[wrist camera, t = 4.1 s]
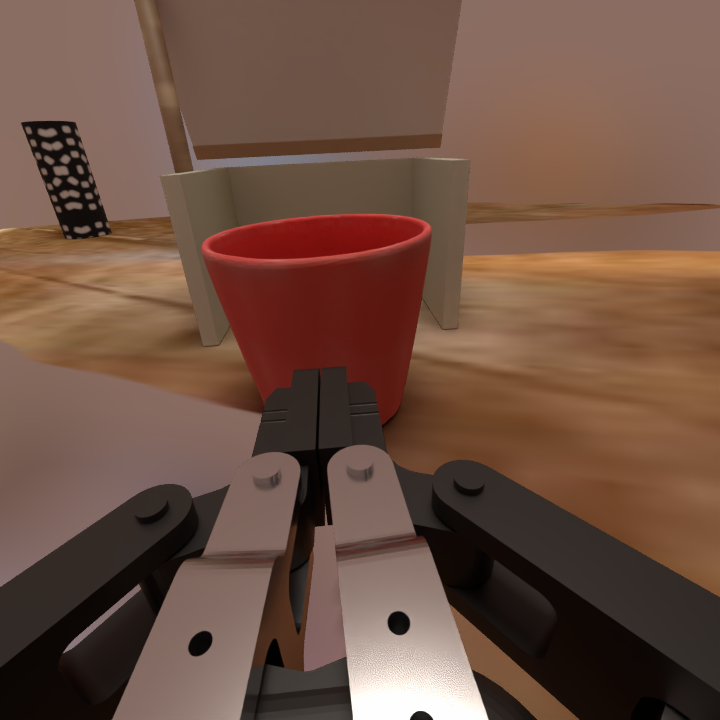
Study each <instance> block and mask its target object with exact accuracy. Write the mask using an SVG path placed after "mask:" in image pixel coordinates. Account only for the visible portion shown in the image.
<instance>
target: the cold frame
mask: <svg viewBox="0 0 720 720" xmlns="http://www.w3.org/2000/svg"><path fill="white" fill-rule="evenodd" d="M469 173H470V160H469V159H447V158H425V157H422V158H421V157H420V158H401V159H381V160H362V161H343V162H324V163H304V164H284V165H266V166H246V167H226V168H214V169H206V170H199V171H191V172H184V173H176V174H169V175H162V176H160V179H161V183H162V187H163V190H164V194H165V198H166V202H167V206H168V210H169V214H170V218H171V222H172V226H173V230H174V234H175V237H176V241H177V245H178V249H179V253H180V257H181V261H182V265H183V269H184V273H185V277H186V281H187V284H188V288H189V292H190V296H191V300H192V304H193V308H194V312H195V316H196V320H197V324H198V327H199V331H200V335H201V339H202V343H203V346H213V345H219V344H220V342H221V341H222V339H223V337H224V335H225V334H226V332H227V330H228V328H229V326H230V324H229V321H228V319H227V317H226V314H225V312H224V310H223V307H222V305H221V303H220V300H219V298H218V296H217V293H216V291H215V288H214V286H213V283H212V281H211V278H210V276H209V273H208V270H207V268H206V265H205V262H204V259H203V256H202V252H201V247H202V244H203V242H204V241H205V240H206V239H208V238H209V237H211V236H213V235H215V234H218V233H220V232H223V231H226V230H229V229H233V228H237V227H241V226H245V225H250V224H256V223H261V222H268V221H274V220H281V219H289V218H298V217H309V216H321V215H338V214H387V215H400V216H407V217H413V218H417V219H420V220H423V221H425V222H427V223H428V224H429V225H430V226H431V228H432V238H431V246H430V252H429V258H428V265H427V270H426V276H425V282H424V288H423V294H422V298H423V300H424V301H425V303H426V304H427V306H428V307H429V309H430V311H431V312H432V314H433V315H434V317H435V318H436V320H437V321H438V323H439V324H440V326H441V327H442V329H454V328H458V316H459V303H460V290H461V277H462V264H463V250H464V238H465V225H466V212H467V199H468V185H469Z"/></svg>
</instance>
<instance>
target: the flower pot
mask: <svg viewBox="0 0 720 720" xmlns="http://www.w3.org/2000/svg"><path fill="white" fill-rule="evenodd" d="M431 238H432V228H431V226H430V225H429V224H428V223H427V222H425V221H423V220H420V219H417V218H413V217H407V216H400V215H387V214H338V215H321V216H309V217H298V218H289V219H281V220H274V221H268V222H261V223H256V224H250V225H245V226H241V227H237V228H233V229H229V230H226V231H223V232H220V233H218V234H215V235H213V236H211V237H209V238H208V239H206V240H205V241H204V242H203V244H202V247H201V252H202V256H203V259H204V262H205V265H206V268H207V270H208V273H209V276H210V278H211V281H212V283H213V286H214V288H215V291H216V293H217V296H218V298H219V300H220V303H221V305H222V307H223V310H224V312H225V314H226V317H227V319H228V321H229V324H230V326H231V328H232V331H233V333H234V335H235V338H236V340H237V343H238V345H239V347H240V350H241V352H242V354H243V357H244V359H245V361H246V364H247V366H248V368H249V371H250V373H251V375H252V377H253V379H254V382H255V384H256V386H257V389H258V391H259V393H260V396H261V398H262V400H263V403H264V405H265V402H266V399H267V398H268V397H269V396H270V394H271V393H272V392H273V391H274V390H275V389H276V388H287V387H291V383H292V377H293V371H294V370H300V369H313V368H319V370H320V377H321V368H325V367H339V366H346V373H347V383H351V382H364V381H366V382H367V383H368V384H369V385H370V386H371V387H372V388H373V389H374V390H375V395H376V400H377V405H378V410H379V415H380V420H381V425H383V424H385V423H386V422H387V421H388V420H389V419H390V418H391V417H393V416H394V415H395V413H396V412H397V410H398V408H399V406H400V403H401V400H402V395H403V391H404V387H405V382H406V378H407V374H408V369H409V364H410V360H411V355H412V349H413V344H414V339H415V333H416V328H417V322H418V317H419V311H420V305H421V299H422V294H423V288H424V282H425V276H426V270H427V265H428V258H429V252H430V246H431Z"/></svg>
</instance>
